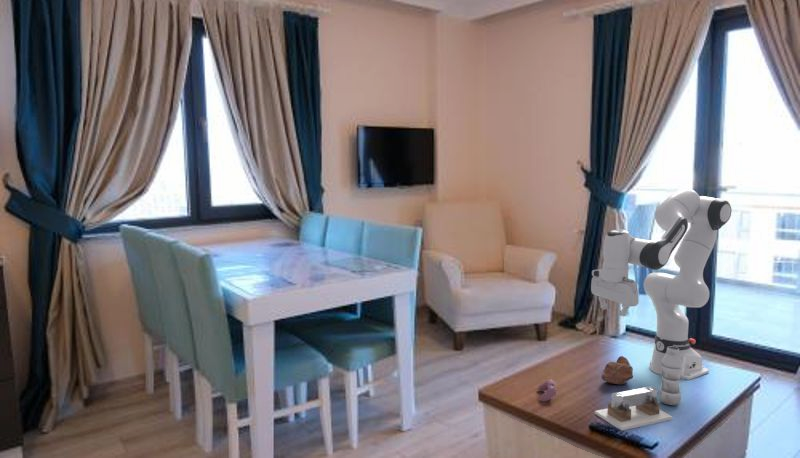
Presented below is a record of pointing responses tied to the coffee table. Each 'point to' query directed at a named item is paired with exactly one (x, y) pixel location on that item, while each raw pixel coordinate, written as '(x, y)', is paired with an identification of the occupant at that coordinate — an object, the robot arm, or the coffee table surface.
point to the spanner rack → (634, 415)
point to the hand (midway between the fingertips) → (613, 312)
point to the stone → (618, 371)
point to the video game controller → (548, 390)
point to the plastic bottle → (671, 377)
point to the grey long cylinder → (633, 397)
